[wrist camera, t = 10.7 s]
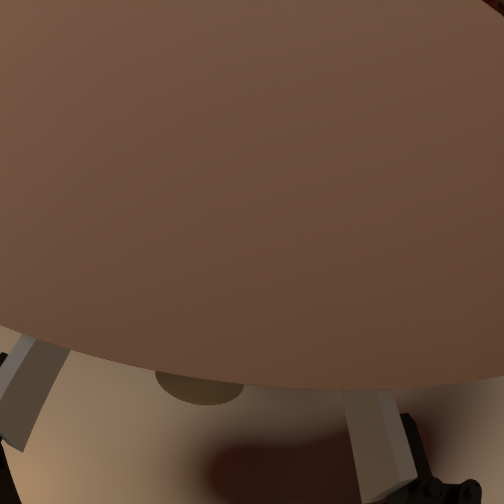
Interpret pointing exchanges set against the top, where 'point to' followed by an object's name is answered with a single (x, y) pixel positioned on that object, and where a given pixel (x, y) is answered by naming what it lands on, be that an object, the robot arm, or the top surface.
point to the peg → (198, 389)
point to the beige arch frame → (257, 187)
